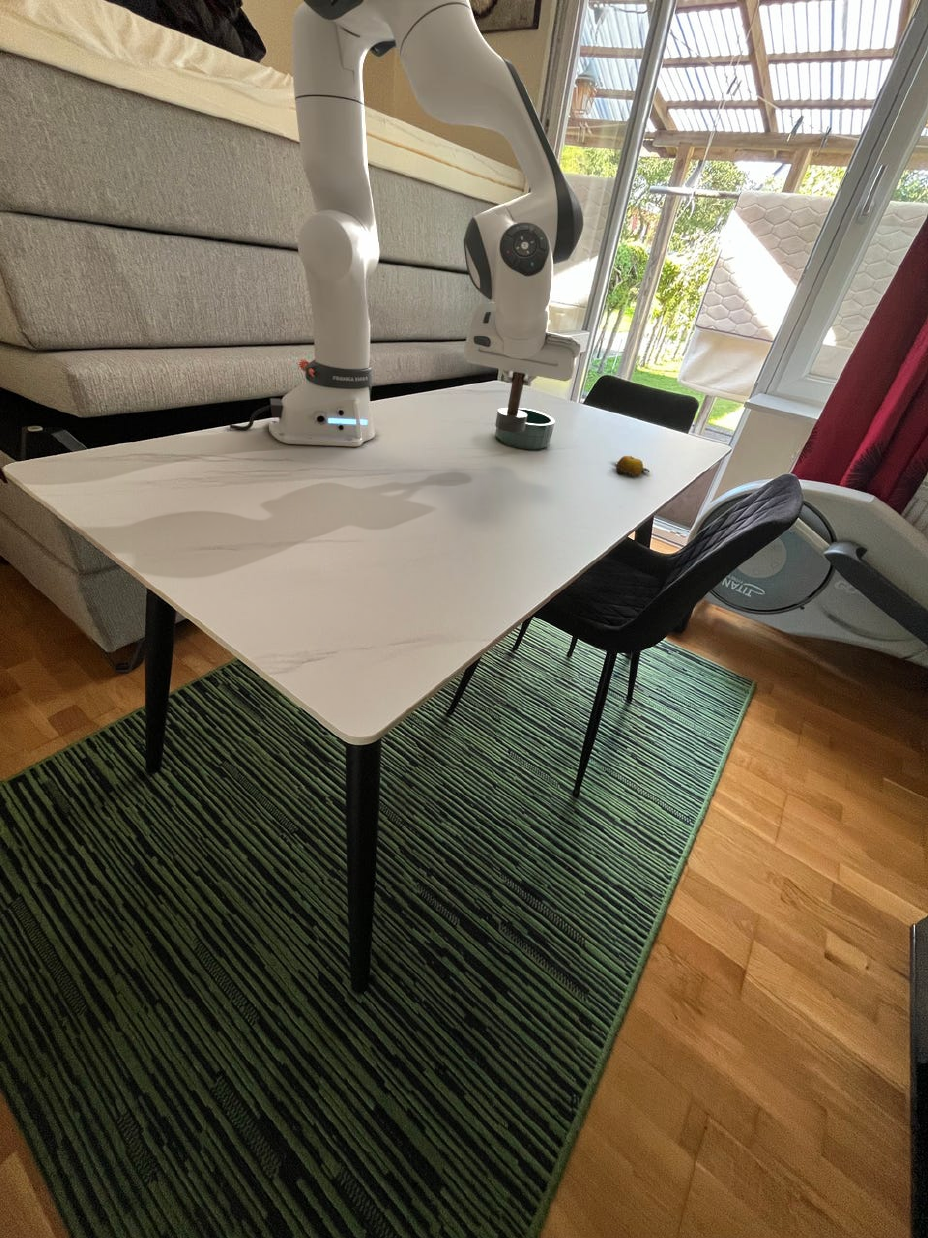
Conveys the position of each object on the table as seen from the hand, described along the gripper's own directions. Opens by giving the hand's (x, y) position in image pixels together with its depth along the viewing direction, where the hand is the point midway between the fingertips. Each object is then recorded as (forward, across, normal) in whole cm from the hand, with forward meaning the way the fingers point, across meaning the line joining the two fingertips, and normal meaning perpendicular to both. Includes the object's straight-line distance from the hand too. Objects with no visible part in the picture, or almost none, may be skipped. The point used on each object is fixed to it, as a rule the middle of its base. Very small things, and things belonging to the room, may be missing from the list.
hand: (518, 380), depth 100 cm
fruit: (+25, -28, +1) cm, 38 cm away
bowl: (+29, -1, -4) cm, 29 cm away
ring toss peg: (+6, 0, +7) cm, 9 cm away
